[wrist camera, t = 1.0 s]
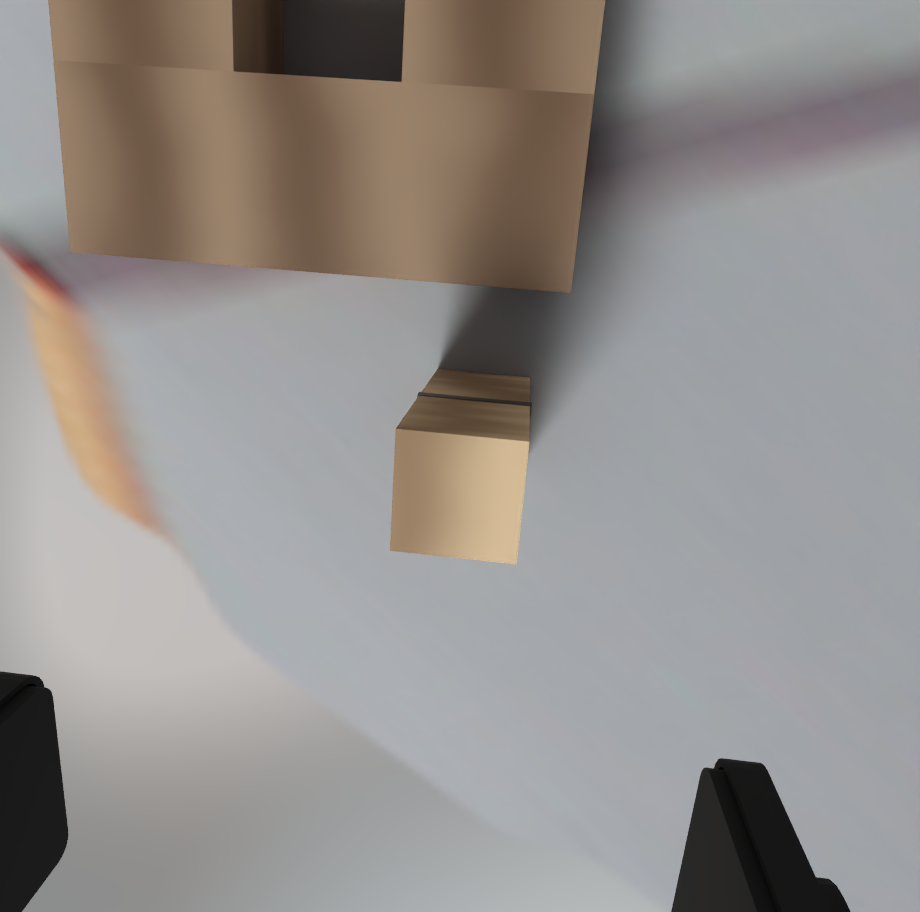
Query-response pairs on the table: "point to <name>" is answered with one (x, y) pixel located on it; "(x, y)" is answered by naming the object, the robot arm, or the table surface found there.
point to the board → (329, 140)
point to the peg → (462, 467)
